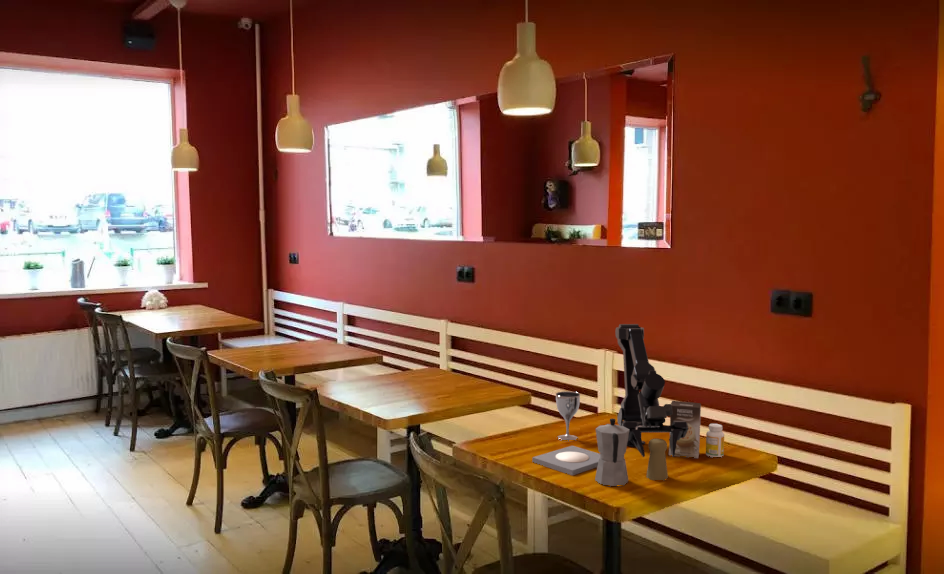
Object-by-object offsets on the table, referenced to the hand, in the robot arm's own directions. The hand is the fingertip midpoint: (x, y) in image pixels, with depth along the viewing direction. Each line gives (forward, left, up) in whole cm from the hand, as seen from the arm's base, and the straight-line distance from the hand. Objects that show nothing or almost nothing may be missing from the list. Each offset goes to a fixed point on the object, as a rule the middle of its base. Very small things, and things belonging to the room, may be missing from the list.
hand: (658, 456), depth 221 cm
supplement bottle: (-31, -1, -7) cm, 32 cm away
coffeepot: (+12, -7, -7) cm, 16 cm away
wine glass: (-11, -44, -7) cm, 46 cm away
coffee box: (-25, -8, -7) cm, 27 cm away
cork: (-1, -1, -7) cm, 7 cm away
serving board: (+7, -26, -7) cm, 28 cm away
